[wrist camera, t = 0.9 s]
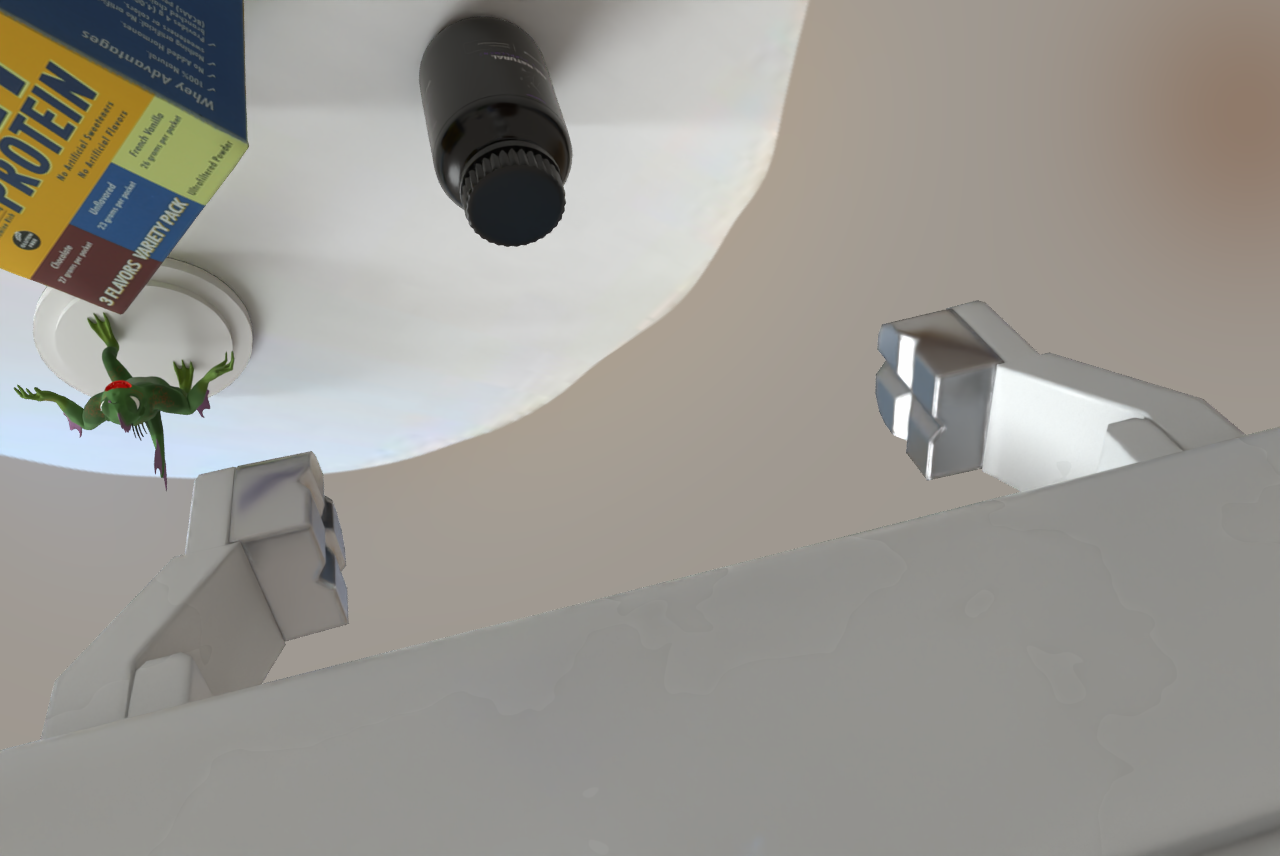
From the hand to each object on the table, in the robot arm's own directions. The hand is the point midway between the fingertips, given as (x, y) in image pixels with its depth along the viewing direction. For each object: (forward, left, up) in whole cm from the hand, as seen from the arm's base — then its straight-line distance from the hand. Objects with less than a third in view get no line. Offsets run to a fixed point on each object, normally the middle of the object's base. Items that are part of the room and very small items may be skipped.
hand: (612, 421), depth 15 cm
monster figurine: (+28, -28, -42) cm, 58 cm away
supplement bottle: (+20, -3, -42) cm, 47 cm away
